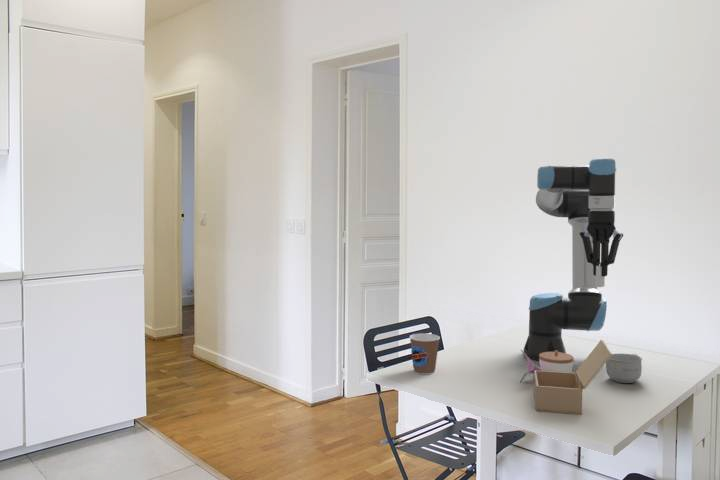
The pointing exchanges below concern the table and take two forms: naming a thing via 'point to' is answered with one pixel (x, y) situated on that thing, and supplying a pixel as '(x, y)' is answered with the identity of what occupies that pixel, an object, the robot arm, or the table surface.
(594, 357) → the lid
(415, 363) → the coffee cup
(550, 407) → the mailer box
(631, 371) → the teacup
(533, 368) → the lily
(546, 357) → the lidded jar
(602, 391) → the table surface
